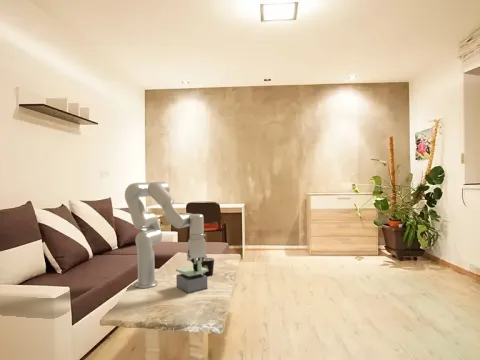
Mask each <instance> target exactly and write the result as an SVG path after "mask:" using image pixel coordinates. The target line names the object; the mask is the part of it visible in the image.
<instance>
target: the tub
mask: <svg viewBox="0 0 480 360" xmlns="http://www.w3.org/2000/svg"><path fill="white" fill-rule="evenodd" d="M175 280H176V288H178V289H179V290H181V291H183V292H184V293H186V294H188V295H189V294H192V293H196V292H201V291H204V290H208V276H205V275H203V274H198V275H193V276H187V275H184V274H181V273H178V274H176V279H175Z"/></svg>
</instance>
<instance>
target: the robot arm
mask: <svg viewBox="0 0 480 360" xmlns="http://www.w3.org/2000/svg"><path fill="white" fill-rule="evenodd" d="M170 191H171V190H170V186H169V184H168V183H167V182H164V181H154V182H133V183H130V184H129V185H128V186H127V187H126V188H125V190H124V200H125V202H126V205H127V207H128V211H129V214H130V217H131V218H130V219H131V221H132V224H133V227H134V228H135V229H136V230H142V231H140V232H138V233H137V235H136V236H135V239H134V241H135V246H136V253H137V254H136V257H137V258H136V259H137V282H135V283H134V285H135V287H136V288H137V289H149V288H153V287H156V286H157V285H158V284H159V283H158V280H156V279H155V278H156V277H155V276H156V275H155V274H156V271H155V266H156V265H155V263H156V262H155V251H154V249H153V246H155V245H158V244H160V243H161V242H162V239H163V233H162V229H161V226H160V221H159V219H158V217H157V215H156V213H154V212H152V211H146V209H145V206H144V203H143V202H142V200H141V199H140V198H144V197H146V198H147V197H152V198H153V200H154V201H155V202H156V203H157V204H158V205H159V206H160V207H161V208H162V212H163V215H164V218H165V219H166V220H167V221H168V223H169V224H170V225H171V226H172V227H174V228H176V229H182V228H186V227H189V239H188V241H187V246H186V257H187V259H186V261H188V262H191V263H192V266H193V269H194V271H197V262H196V260H199V261H201V263H202V261H203V260H204V259H205V258H208V256H207V243H206V239H205V237H206V236H207V234H206V233H205V228H204V227H205V225H204V223H205V221H204V215H203V214H201V213H190V212H184V213H179V212H178V211H177V210H176V209H175V208H174V206H173V204H174V201H175V198H174V196H173V195H172V194H171V193H170ZM143 229H144V230H143ZM145 229H146V230H145Z"/></svg>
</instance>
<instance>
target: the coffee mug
mask: <svg viewBox="0 0 480 360" xmlns="http://www.w3.org/2000/svg"><path fill="white" fill-rule="evenodd" d="M201 267H203V268H206V269H208V271H207V272H205V273H203V275H205V276H207V277H212V276H213V275H214V267H215V258H214V257H207V258H205V259H204V260H203V261H202V263H201Z"/></svg>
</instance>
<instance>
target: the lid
mask: <svg viewBox="0 0 480 360" xmlns="http://www.w3.org/2000/svg"><path fill="white" fill-rule="evenodd" d="M196 262H197V271H194V269H193V265H191V266H185V267H179V268H176V269H175V272H178V274H184V275H187V276H193V275H198V274H203V273H205V272H207V271H208V269H206V268H203V267H202V265H201V261H199V260H198V259H196Z"/></svg>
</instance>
